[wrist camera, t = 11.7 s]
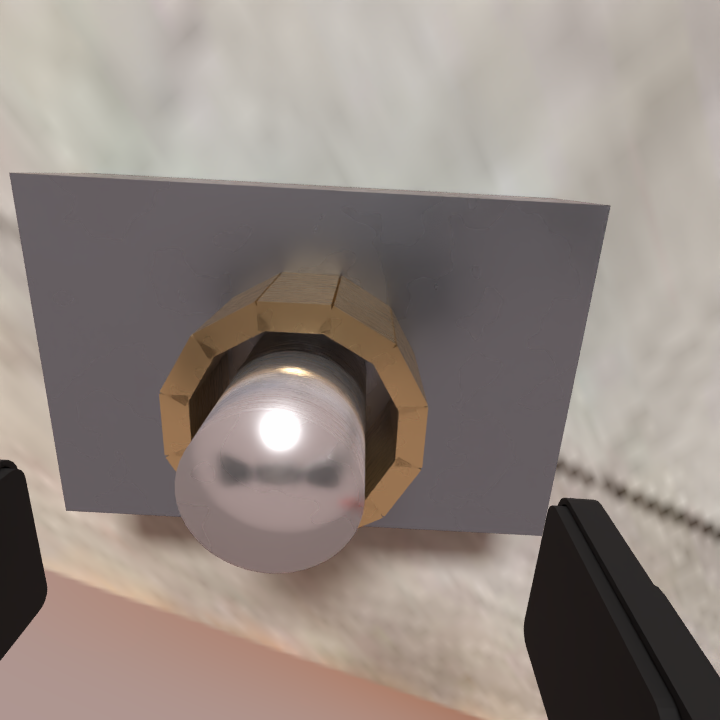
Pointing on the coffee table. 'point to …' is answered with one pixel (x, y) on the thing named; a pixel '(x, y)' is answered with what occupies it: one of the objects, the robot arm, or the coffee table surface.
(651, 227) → the coffee table surface
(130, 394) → the grey peg board
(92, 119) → the coffee table surface
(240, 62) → the coffee table surface
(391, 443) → the bronze ring
